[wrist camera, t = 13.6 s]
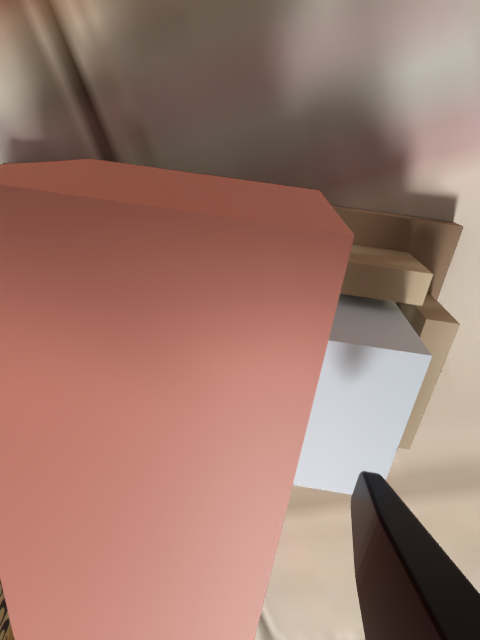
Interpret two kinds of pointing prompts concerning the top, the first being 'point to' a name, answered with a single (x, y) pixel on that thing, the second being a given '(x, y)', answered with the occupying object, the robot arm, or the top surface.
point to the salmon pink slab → (154, 392)
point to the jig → (404, 281)
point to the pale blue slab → (361, 395)
